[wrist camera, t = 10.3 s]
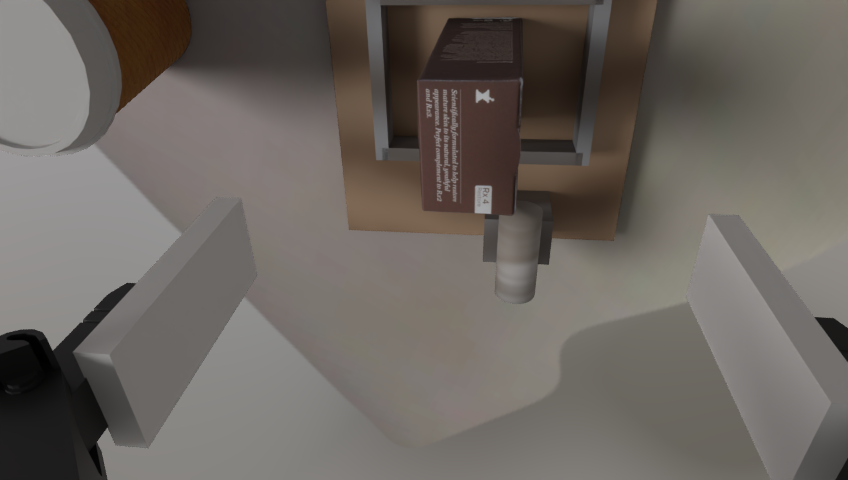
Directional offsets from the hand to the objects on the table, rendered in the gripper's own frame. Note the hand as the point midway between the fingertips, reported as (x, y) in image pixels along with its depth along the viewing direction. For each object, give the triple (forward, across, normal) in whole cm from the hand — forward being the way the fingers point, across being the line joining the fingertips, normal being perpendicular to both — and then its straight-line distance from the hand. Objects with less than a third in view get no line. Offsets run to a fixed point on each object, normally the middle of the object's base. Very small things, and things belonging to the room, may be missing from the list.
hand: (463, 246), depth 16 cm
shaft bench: (+21, 0, 0) cm, 21 cm away
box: (+20, 0, 0) cm, 20 cm away
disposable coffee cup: (+21, -21, +3) cm, 30 cm away
